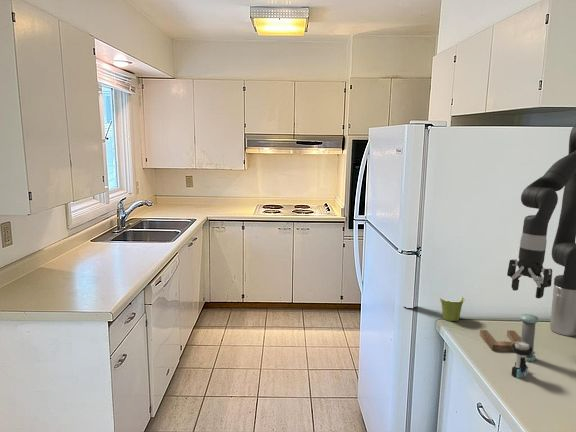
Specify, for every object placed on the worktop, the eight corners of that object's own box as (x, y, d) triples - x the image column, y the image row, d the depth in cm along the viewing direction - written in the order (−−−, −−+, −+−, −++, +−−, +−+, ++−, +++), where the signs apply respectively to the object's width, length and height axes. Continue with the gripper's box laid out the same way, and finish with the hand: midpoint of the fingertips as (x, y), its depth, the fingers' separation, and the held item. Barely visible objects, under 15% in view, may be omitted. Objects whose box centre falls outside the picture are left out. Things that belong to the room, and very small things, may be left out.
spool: (530, 354, 143) (533, 314, 141) (537, 361, 138) (541, 320, 136) (514, 354, 144) (517, 313, 141) (521, 361, 139) (524, 320, 136)
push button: (519, 367, 135) (521, 337, 133) (536, 375, 130) (539, 344, 129) (506, 373, 132) (508, 342, 130) (523, 381, 127) (525, 349, 126)
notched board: (513, 335, 157) (514, 330, 157) (529, 351, 145) (529, 345, 145) (479, 335, 158) (479, 329, 158) (492, 350, 146) (492, 345, 146)
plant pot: (434, 318, 173) (435, 298, 172) (444, 312, 180) (445, 292, 178) (457, 325, 167) (458, 303, 165) (467, 318, 173) (468, 297, 172)
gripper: (560, 251, 140) (554, 299, 142) (520, 242, 152) (514, 286, 155) (546, 252, 137) (539, 302, 139) (506, 243, 149) (500, 288, 152)
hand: (526, 293), depth 147 cm, fingers open, 8 cm apart
